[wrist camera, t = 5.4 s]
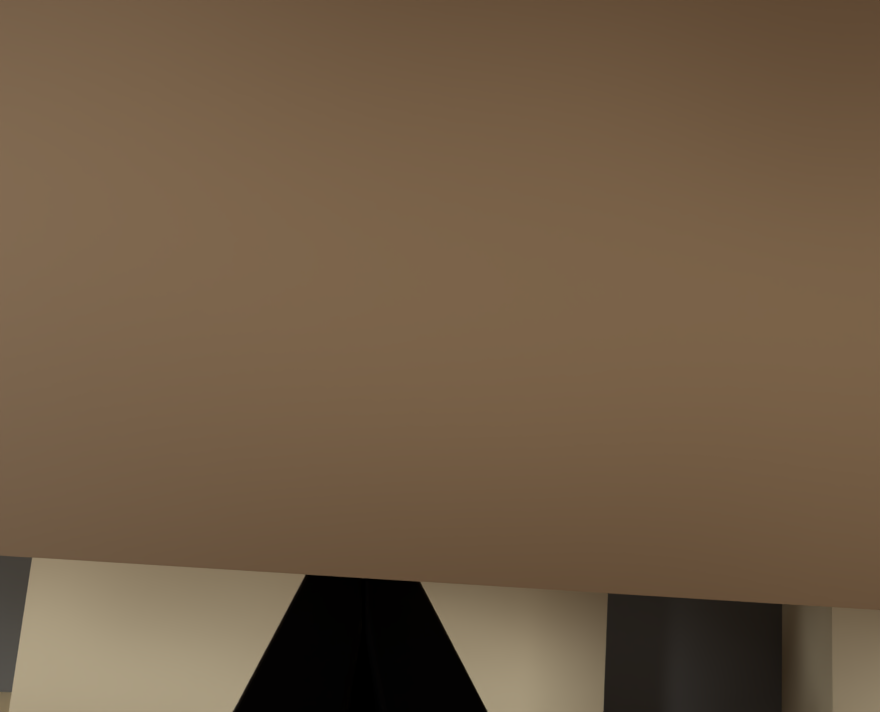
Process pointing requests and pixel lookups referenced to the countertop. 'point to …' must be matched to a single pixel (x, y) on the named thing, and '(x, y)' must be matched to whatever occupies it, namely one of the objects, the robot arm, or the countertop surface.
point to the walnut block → (446, 291)
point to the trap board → (466, 622)
